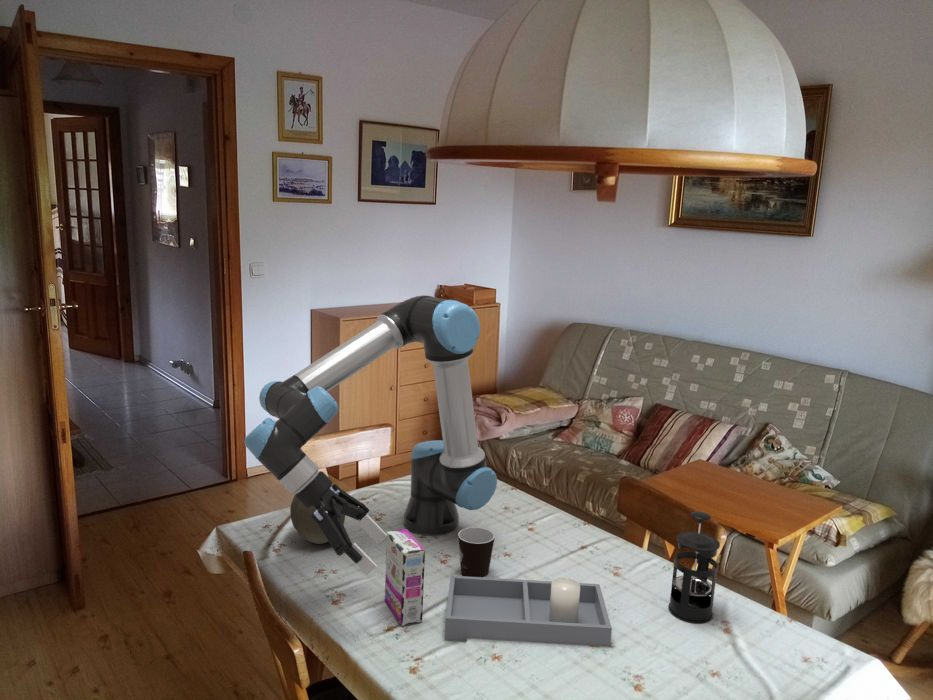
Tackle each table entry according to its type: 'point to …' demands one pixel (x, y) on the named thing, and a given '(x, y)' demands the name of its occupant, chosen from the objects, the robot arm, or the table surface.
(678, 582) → the french press
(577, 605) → the cream cylinder
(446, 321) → the robot arm
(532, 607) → the grey divided tray
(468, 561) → the coffee mug
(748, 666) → the table surface
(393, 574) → the candy bar box
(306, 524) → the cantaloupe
